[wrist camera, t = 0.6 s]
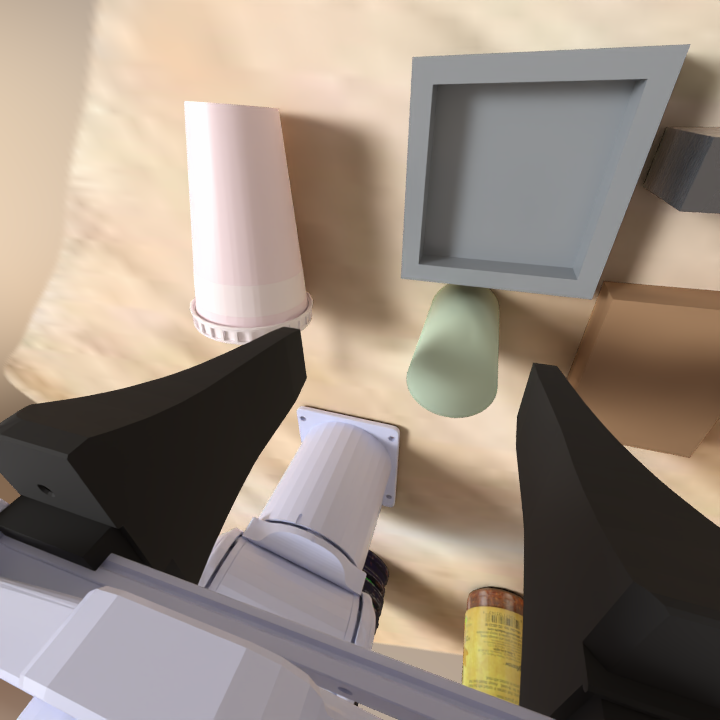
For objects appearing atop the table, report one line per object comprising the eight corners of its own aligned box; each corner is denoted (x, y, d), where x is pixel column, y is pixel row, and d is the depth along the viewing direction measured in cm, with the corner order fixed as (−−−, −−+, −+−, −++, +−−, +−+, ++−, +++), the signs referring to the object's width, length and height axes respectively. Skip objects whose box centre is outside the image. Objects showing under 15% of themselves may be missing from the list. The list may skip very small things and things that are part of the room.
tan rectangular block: (673, 425, 20) (689, 457, 19) (554, 404, 22) (559, 432, 20) (760, 291, 16) (792, 317, 14) (602, 277, 17) (613, 299, 16)
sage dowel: (492, 344, 21) (488, 425, 16) (427, 334, 21) (404, 408, 16) (506, 284, 18) (506, 355, 13) (434, 276, 19) (409, 340, 14)
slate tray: (584, 283, 17) (591, 299, 16) (408, 265, 19) (400, 278, 18) (669, 49, 12) (690, 44, 11) (421, 60, 15) (412, 57, 13)
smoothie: (218, 102, 11) (258, 431, 19) (342, 113, 16) (334, 375, 24) (111, 95, 14) (183, 384, 22) (241, 107, 19) (264, 342, 26)
